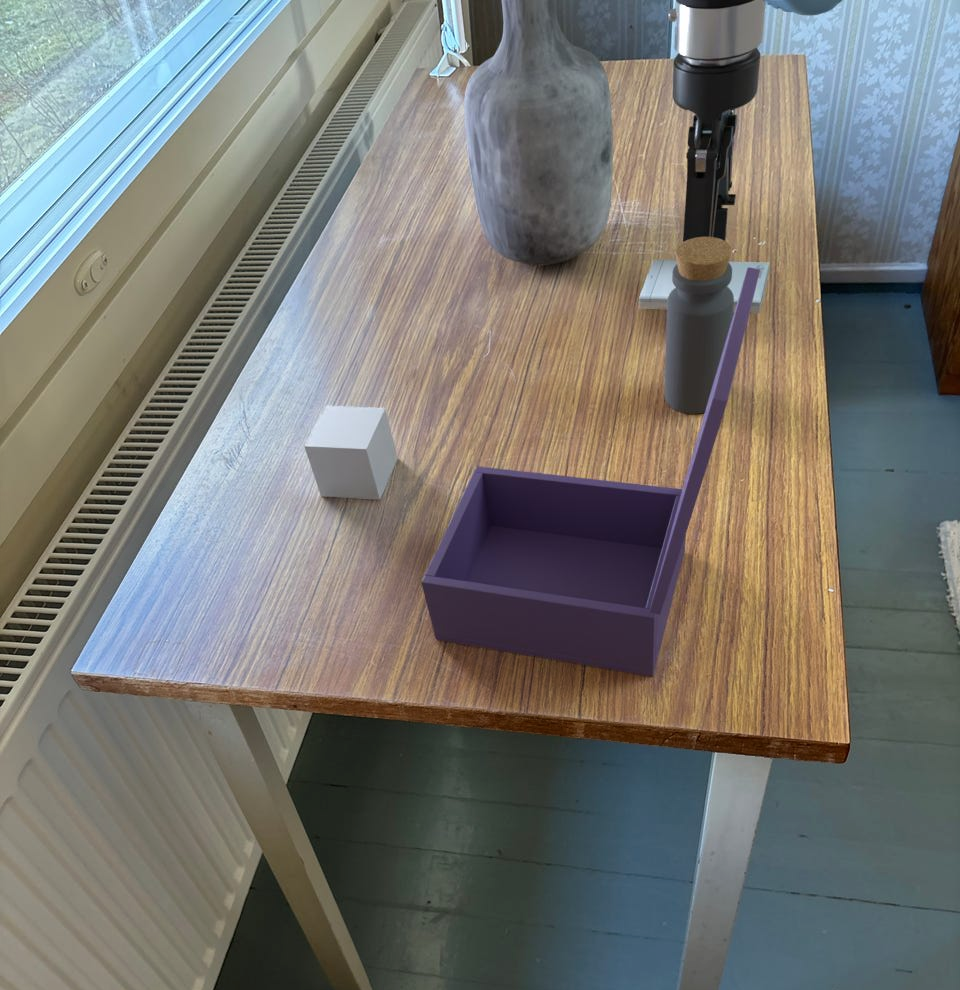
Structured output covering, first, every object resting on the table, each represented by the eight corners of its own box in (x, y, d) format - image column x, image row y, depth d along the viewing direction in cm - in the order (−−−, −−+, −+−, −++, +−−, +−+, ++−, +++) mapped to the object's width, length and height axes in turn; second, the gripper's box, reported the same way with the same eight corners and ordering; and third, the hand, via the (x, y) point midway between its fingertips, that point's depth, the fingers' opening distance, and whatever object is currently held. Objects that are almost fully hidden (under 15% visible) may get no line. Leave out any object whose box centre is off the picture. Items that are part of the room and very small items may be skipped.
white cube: (397, 458, 91) (385, 407, 86) (380, 500, 87) (366, 449, 83) (340, 455, 92) (325, 405, 88) (320, 496, 89) (303, 446, 84)
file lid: (712, 398, 50) (727, 401, 50) (747, 266, 58) (760, 269, 58) (649, 612, 65) (660, 615, 65) (683, 483, 73) (694, 486, 72)
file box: (435, 640, 75) (420, 582, 70) (486, 525, 83) (476, 465, 78) (652, 677, 70) (654, 618, 65) (685, 551, 78) (688, 489, 73)
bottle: (723, 415, 89) (736, 267, 77) (660, 413, 90) (665, 267, 79) (727, 379, 92) (740, 232, 81) (667, 377, 94) (672, 232, 82)
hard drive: (770, 260, 99) (653, 256, 102) (761, 301, 94) (638, 295, 98) (768, 275, 100) (653, 270, 104) (759, 316, 95) (638, 310, 99)
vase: (496, 299, 107) (459, -4, 84) (470, 235, 118) (431, -50, 95) (631, 269, 108) (630, -41, 85) (593, 208, 118) (584, -82, 95)
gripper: (694, 11, 90) (685, 240, 107) (650, 99, 77) (648, 342, 94) (775, 7, 87) (753, 242, 104) (744, 97, 75) (724, 347, 92)
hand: (703, 289), depth 99 cm, fingers closed on hard drive, 8 cm apart
